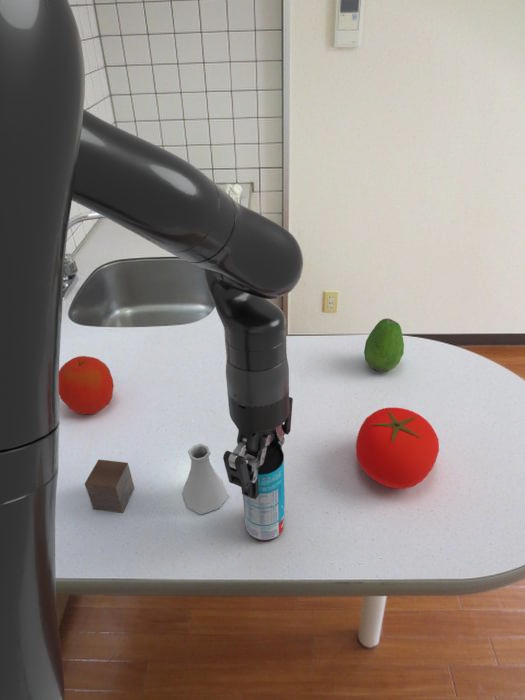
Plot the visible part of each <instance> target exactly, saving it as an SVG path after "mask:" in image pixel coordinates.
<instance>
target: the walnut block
mask: <svg viewBox="0 0 525 700" xmlns="http://www.w3.org/2000/svg"><path fill="white" fill-rule="evenodd" d="M84 485H85V489H86V492H87V495H88V498H89V501H90V504H91V507H92V509H93V510H98V511H105V512H112V513H121V514H123V513H124V511H125V509H126V507H127V505H128V504H129V501H130V499H131V497H132V495H133V492H134V491H135V485H134V481H133V477H132V473H131V468H130V465H129V462H124V461H118V460H117V461H116V460H108V459H97V461H96V463H95V464H94V467H93V468H92V470H91V471H90V473H89V474H88V476H87V478H86V480H85V482H84Z"/></svg>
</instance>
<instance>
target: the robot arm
mask: <svg viewBox="0 0 525 700" xmlns="http://www.w3.org/2000/svg"><path fill="white" fill-rule="evenodd" d="M85 96H86V70H85V58H84V51H83V45H82V39H81V35H80V31H79V28H78V23H77V20H76V17H75V14H74V12H73V8H72V7H71V4H70V2H69V0H0V700H65V676H64V665H63V654H62V646H61V637H60V628H59V617H58V616H59V615H58V602H57V585H56V584H57V582H56V505H57V503H56V502H57V486H58V474H59V460H60V459H59V457H60V416H61V415H60V395H59V371H60V355H61V337H62V319H63V318H62V317H63V296H64V276H65V275H64V274H65V262H66V261H65V260H66V252H67V251H66V250H67V241H68V234H69V233H68V232H69V225H70V217H71V209H72V204H73V203H72V202H74V203H76V204H79V205H80V206H82V207H84V208H86V209H89V210H91V211H92V212H94V213H96V214H98V215H100V216H102V217H104V218H106V219H108V220H110V221H112V222H114V223H115V224H117V225H119V226H121V227H123V228H125V229H127V230H128V231H130V232H132V233H134V234H136V235H138V236H139V237H141V238H143V239H144V240H146V241H148V242H150V243H152V244H153V245H154V246H157V247H159V248H160V249H162V250H164V251H166V252H168V253H170V254H172V255H173V256H175V257H177V258H178V259H181V260H182V261H184V262H186V263H188V264H190V265H193V266H195V267H199V268H201V269H202V273H203V277H204V281H205V283H206V286H207V289H208V292H209V295H210V296H211V300H212V302H213V305H214V307H215V310H216V313H217V315H218V317H219V319H220V321H221V324H222V326H223V332H224V333H223V335H224V346H225V357H226V358H225V359H226V362H225V380H226V390H227V402H228V412H229V417H230V419H231V421H232V422H233V424H234V425H235V427H236V428H237V430H238V432H237V437H236V444H237V445H236V447H235V448H234V449H233V451H230V450H226V451H225V452H224V453H223V457H222V460H223V463H224V467H225V471H226V475H227V479H228V482H229V483H230V484H233V485H236V486H238V487H240V488H241V494H242V496H243V495H245V496H247V497H249V498H251V499H252V498H253V499H256V498H257V497H258V495H259V486H258V478H257V477H258V472H259V467H260V466H261V465H263V464H264V460H265V455H266V450H267V446H268V445H269V444H270V443H271V442H273V443H275V444H277V445H278V446H279V447H280V448H281V449H282V450H283V446H284V444H285V441H286V440H285V437H284V436H285V435H289V434H290V432H291V429H292V415H293V402H294V399H293V397H291V396H290V367H289V361H288V354H287V353H288V352H287V319H286V316H285V313H284V312H283V310H282V309H281V308H280V307H279V306H278V305H277V304H275V303H274V302H272V301H271V300H275V299H280V298H282V297H284V296H286V295H288V294H289V293H291V292H292V291H293V290H294V289H295V288H296V286H297V285H298V283H299V281H300V279H301V277H302V274H303V270H304V256H303V252H302V249H301V246H300V244H299V242H298V240H297V239H296V237H295V236H294V235H293V234H292V233H291V232H290V231H289V230H288V229H287V228H286V227H283V226H282V225H280V224H278V223H277V222H275V221H274V220H271V219H270V218H268V217H266V216H265V215H263V214H260V213H259V212H257V211H254V210H252V209H250V208H248V207H246V206H244V205H242V204H241V203H239V202H237V201H236V200H235V199H234V198H233V197H232V196H231V195H230V194H228V192H226V191H225V190H224V189H223V188H222V187H221V186H219V185H218V184H217V183H216V182H215V181H214V180H212V179H211V178H210V177H209V176H207V175H206V174H205V173H203V172H202V171H201V170H200V169H199V168H197V167H196V166H195V165H193V164H192V163H190V162H188V161H187V160H185V159H183V158H182V157H179V156H178V155H176V154H174V153H172V152H170V151H168V150H166V149H164V148H163V147H160V146H159V145H156V144H154V143H152V142H150V141H148V140H146V139H143V138H141V137H139V136H137V135H135V134H132V133H130V132H128V131H126V130H123V129H121V128H119V127H118V126H115V125H113V124H112V123H109V122H107V121H106V120H104V119H102V118H100V117H98V116H96V115H94V114H93V113H92V112H90V111H88V110H86V109H85ZM273 448H274V447H273ZM246 451H248V452H250V453H253V454H256V455H258V457H257V458H256V457H254V456H252V455H249V454H247V453H246ZM247 464H249V465H251V466H252V471H249V470H248V469H247Z"/></svg>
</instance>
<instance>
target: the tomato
mask: <svg viewBox="0 0 525 700" xmlns="http://www.w3.org/2000/svg"><path fill="white" fill-rule="evenodd" d="M355 441H356V442H355V455H356V459H357V461H358V463H359V465H360V467H361V469H362V470H363V471H364V473H365V474H366V475H367V476H368V477H369V478H371V479H372V480H374V481H375V482H377V483H379V484H381V485H382V486H385V487H388V488H391V489H408V488H412V487H413V488H414V487H415V486H417V485H418V484H420V483H421V482H423V481H424V480H425V479H426V478H427V477H428V475H429V474H430V472H431V470H433V468H434V466H435V464H436V461H437V459H438V455H439V452H440V443H439V441H440V440H439V436H438V435H437V433H436V431H435V429H434V428H433V426H432V424H431V423H430V422H429V420H427V419H426V418H425V417H424V416H421V415H420V414H419V413H417V412H416V411H413V410H409V409H407V408H402V407H383V408H381V409H377V410H376V411H374V412H372V413H371V414H370V415H368V416H367V417H366V418H365V419H364V421H363V422H362V424H361V425H360V428H359V430H358V433H357V436H356V440H355Z"/></svg>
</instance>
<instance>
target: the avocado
mask: <svg viewBox="0 0 525 700" xmlns="http://www.w3.org/2000/svg"><path fill="white" fill-rule="evenodd" d="M404 350H405V343H404V337H403V331H402V327H401V325H400V324H399V322H397V321H395V320H393V319H391V318H389V317H388V318H382V319H381V320H379V321H378V322H377V324H376V325H375V326H374V327H373V329H372V330H371V331H370V333H369V335H368V337H367V338H366V340H365V345H364V351H363V355H364V359H365V362H366V364H367V365H368V366H369V367H370V368H372V369H374V370H375V371H378V372H390V371H391V370H394V369H395V368H396V367H397V366H398V365H399V364H400V362H401V360H402V358H403V355H404Z"/></svg>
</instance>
